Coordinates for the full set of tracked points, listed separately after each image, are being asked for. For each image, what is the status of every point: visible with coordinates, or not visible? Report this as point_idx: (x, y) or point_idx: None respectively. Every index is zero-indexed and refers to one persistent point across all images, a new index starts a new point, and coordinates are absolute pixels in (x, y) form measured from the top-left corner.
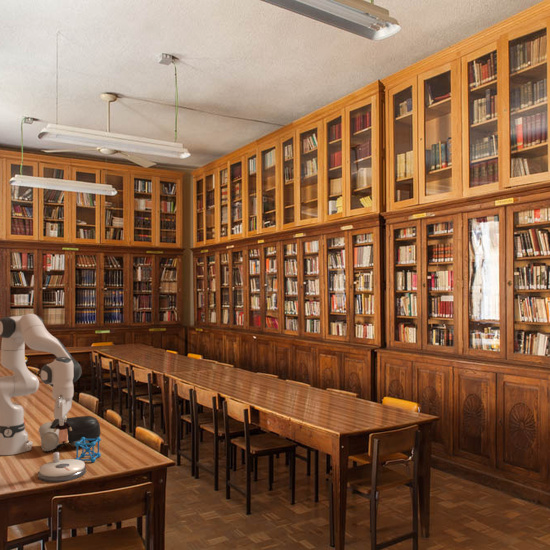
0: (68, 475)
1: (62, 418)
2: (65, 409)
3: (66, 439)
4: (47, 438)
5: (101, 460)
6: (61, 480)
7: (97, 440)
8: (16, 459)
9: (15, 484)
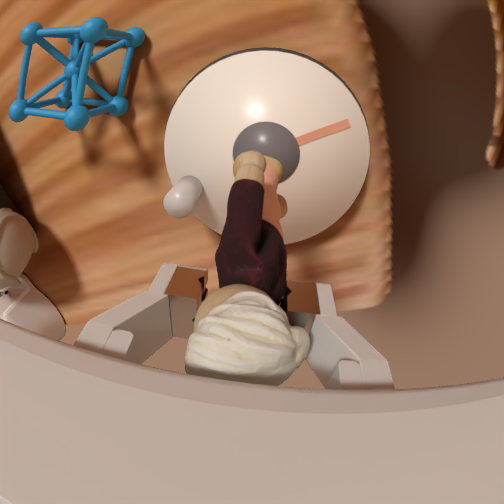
0: None
1: (380, 370)
2: (431, 497)
3: (277, 177)
4: (17, 260)
5: (124, 10)
6: None
7: (47, 28)
8: (85, 302)
9: None
